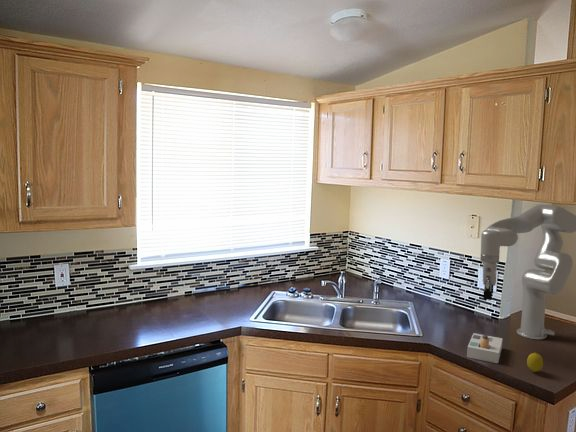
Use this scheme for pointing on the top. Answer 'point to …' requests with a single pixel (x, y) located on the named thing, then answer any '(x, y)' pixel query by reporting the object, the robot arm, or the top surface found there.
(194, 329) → the top surface
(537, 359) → the lemon
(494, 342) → the socket block
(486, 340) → the light wood cylinder
